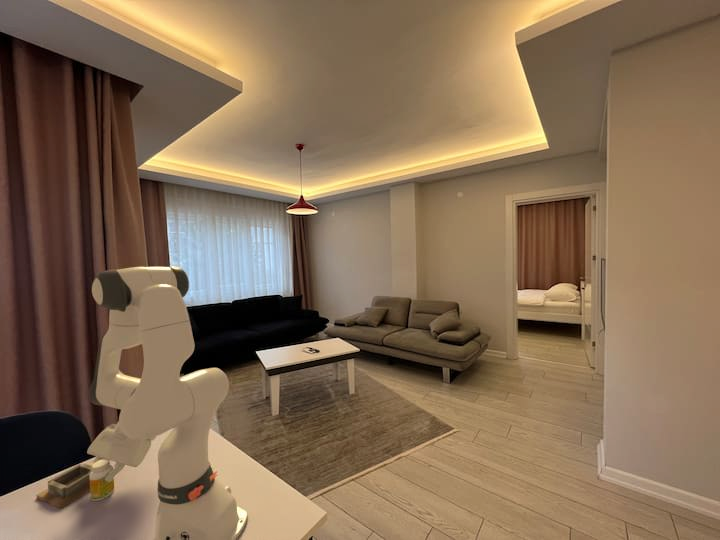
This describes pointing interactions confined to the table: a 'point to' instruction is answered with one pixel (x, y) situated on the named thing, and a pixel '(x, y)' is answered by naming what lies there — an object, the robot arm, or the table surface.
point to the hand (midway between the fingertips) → (99, 478)
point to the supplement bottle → (100, 480)
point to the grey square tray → (67, 486)
